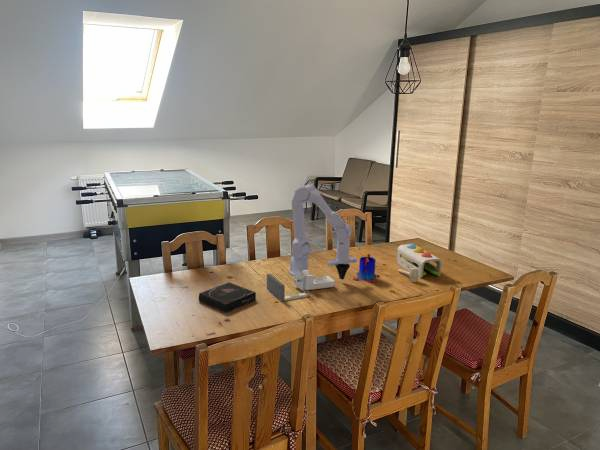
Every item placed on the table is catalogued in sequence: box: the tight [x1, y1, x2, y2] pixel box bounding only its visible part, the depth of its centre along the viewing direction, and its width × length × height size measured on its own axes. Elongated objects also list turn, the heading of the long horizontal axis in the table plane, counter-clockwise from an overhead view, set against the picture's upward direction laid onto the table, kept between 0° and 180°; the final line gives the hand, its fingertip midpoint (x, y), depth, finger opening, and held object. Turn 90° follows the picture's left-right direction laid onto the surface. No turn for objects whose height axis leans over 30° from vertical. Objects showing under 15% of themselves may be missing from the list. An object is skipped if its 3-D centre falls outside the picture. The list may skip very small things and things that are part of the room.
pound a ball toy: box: [396, 243, 443, 283], centre depth 230 cm, size 28×18×12 cm, turn 17°
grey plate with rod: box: [266, 273, 309, 302], centre depth 201 cm, size 15×13×7 cm
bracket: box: [302, 269, 336, 291], centre depth 208 cm, size 13×7×8 cm, turn 111°
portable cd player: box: [198, 281, 257, 314], centre depth 192 cm, size 16×17×4 cm
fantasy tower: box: [352, 253, 381, 284], centre depth 220 cm, size 12×12×12 cm
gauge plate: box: [293, 269, 309, 294], centre depth 202 cm, size 12×3×7 cm, turn 28°
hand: (341, 278), depth 214 cm, fingers closed
